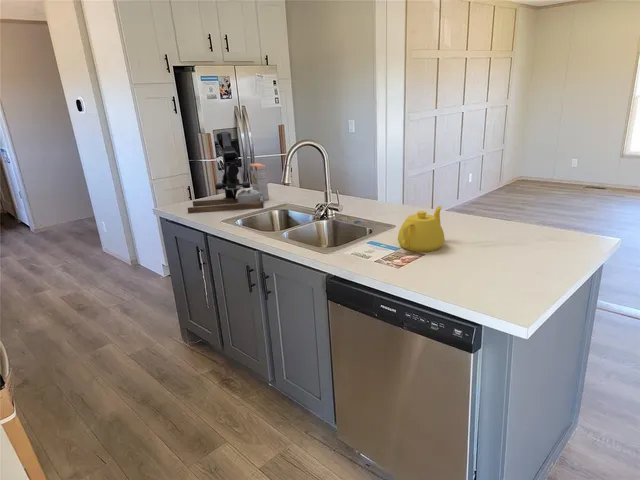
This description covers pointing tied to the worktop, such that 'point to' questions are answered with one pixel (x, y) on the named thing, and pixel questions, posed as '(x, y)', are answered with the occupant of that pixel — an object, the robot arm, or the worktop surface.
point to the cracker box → (259, 179)
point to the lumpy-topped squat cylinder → (248, 196)
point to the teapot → (422, 232)
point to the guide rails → (222, 206)
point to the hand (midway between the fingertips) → (234, 200)
